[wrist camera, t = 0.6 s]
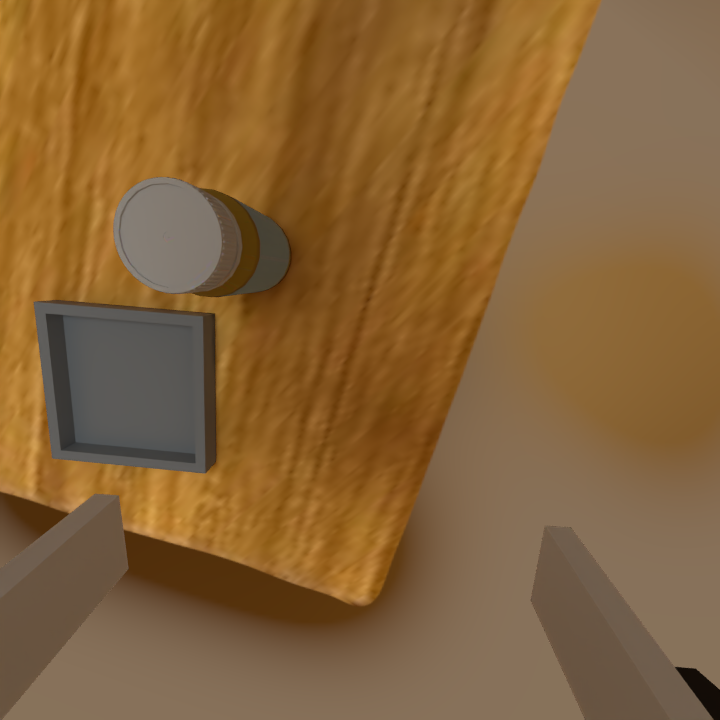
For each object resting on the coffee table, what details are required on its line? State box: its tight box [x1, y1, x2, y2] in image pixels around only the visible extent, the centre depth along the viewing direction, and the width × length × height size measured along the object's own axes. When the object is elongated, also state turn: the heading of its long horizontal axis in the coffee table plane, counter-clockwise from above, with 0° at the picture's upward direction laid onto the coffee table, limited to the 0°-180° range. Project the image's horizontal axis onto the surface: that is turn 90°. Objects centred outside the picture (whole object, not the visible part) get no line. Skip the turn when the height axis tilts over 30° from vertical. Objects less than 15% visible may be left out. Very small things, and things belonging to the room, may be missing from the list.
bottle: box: [113, 177, 291, 297], centre depth 27 cm, size 7×7×15 cm
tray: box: [34, 300, 216, 473], centre depth 37 cm, size 16×16×2 cm
